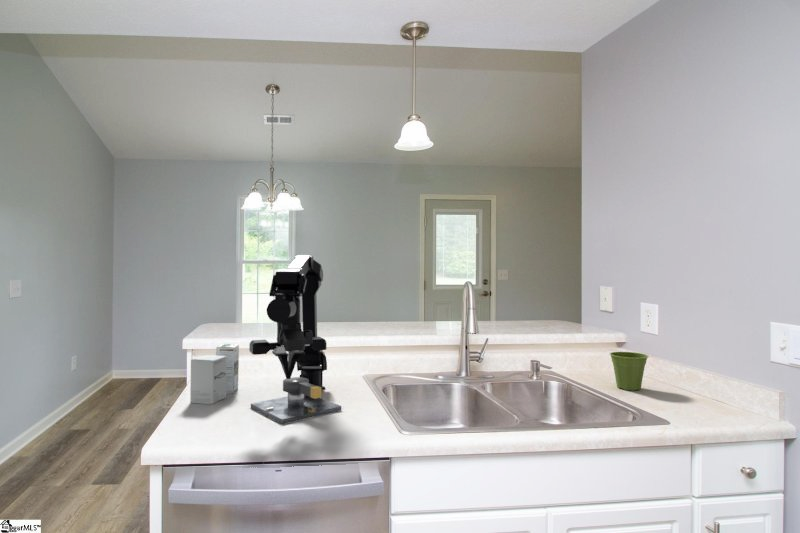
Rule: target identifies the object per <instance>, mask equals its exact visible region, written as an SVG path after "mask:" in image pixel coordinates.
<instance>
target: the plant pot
mask: <svg viewBox="0 0 800 533" xmlns="http://www.w3.org/2000/svg"><path fill="white" fill-rule="evenodd" d="M609 355H610V358H611V362H612V365H613V370H614V377H615V384H616V387H617V388H618V389H622V390H625V391H631V392H634V391H641V389H642V384H643V377H644V371H645V366H646V364H647V361H648V358H649V354H648V355H647V353H646V354H645V353H641V352H635V351H634V352H633V351H612V352H609Z"/></svg>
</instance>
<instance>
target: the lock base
mask: <svg viewBox="0 0 800 533" xmlns="http://www.w3.org/2000/svg"><path fill="white" fill-rule="evenodd" d="M250 409H252V410H254V411H256V412H257V413H259V414H262V415H264V416H265V417H268V418H269V419H271V420H274V421H275V422H276V423H279V424H281V425H285V424H288V423H289V424H290V423H294V422H298V421H301V420H306V419H310V418H314V417H319V416H323V415H326V414H327V415H328V414H332V413H336V412H340V411H341V412H342V405H339V404H338V403H335V402H331V401H329V400H327V399H324V398H322V397H320V398H316V399H314V398H311V397H310V396H307V395H304V394H302V393H299V392H298V393H289V392H287V396H284V397H278V398H271V399H269V400H268V399H267V400H263V401H262V400H261V401H257V402H252V403H250Z"/></svg>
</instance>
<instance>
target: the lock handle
mask: <svg viewBox="0 0 800 533" xmlns="http://www.w3.org/2000/svg"><path fill="white" fill-rule="evenodd" d="M282 390H283V392H286V393H288V392H289V393H298V392H299V393H302V394H304V395H307V396H310V397H311V398H314V399H316V398H322V392H323V391H322V390H323V389H322V387H319V386H315V385H313V384H310V383H309V379H307V378H301V377H300V376H298V377H297V376H296V377H291V378H290V379H286V378H284V379H283V381H282Z"/></svg>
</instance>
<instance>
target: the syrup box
mask: <svg viewBox="0 0 800 533" xmlns="http://www.w3.org/2000/svg"><path fill="white" fill-rule="evenodd" d="M215 348H216V349H215V356H227V357H226V395H227V394H235V392H236V391H237V390H238V389H239V365H240V364H239V361H240V360H239V358H240V355H239V353H240V345H239V344H235V343H223V344H220V345H218V346H216V347H215Z"/></svg>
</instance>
